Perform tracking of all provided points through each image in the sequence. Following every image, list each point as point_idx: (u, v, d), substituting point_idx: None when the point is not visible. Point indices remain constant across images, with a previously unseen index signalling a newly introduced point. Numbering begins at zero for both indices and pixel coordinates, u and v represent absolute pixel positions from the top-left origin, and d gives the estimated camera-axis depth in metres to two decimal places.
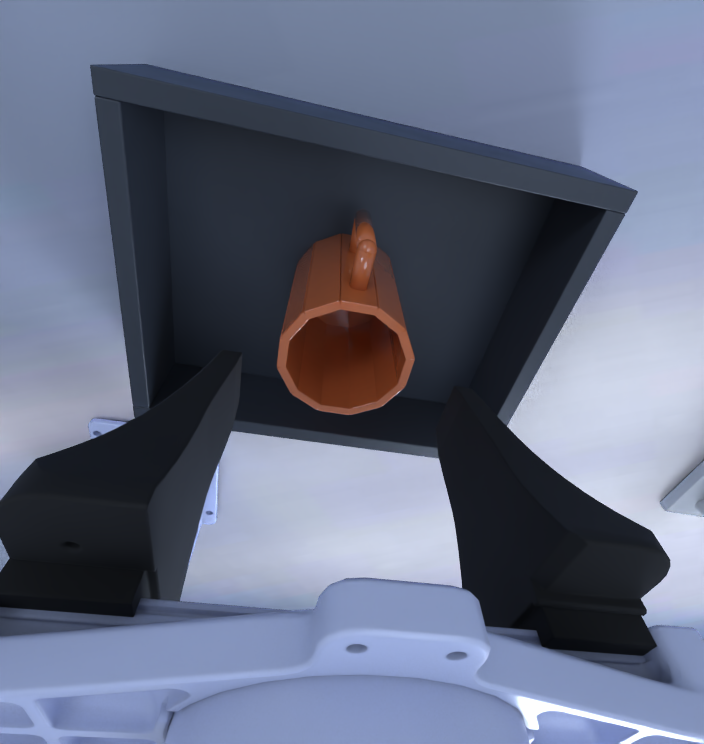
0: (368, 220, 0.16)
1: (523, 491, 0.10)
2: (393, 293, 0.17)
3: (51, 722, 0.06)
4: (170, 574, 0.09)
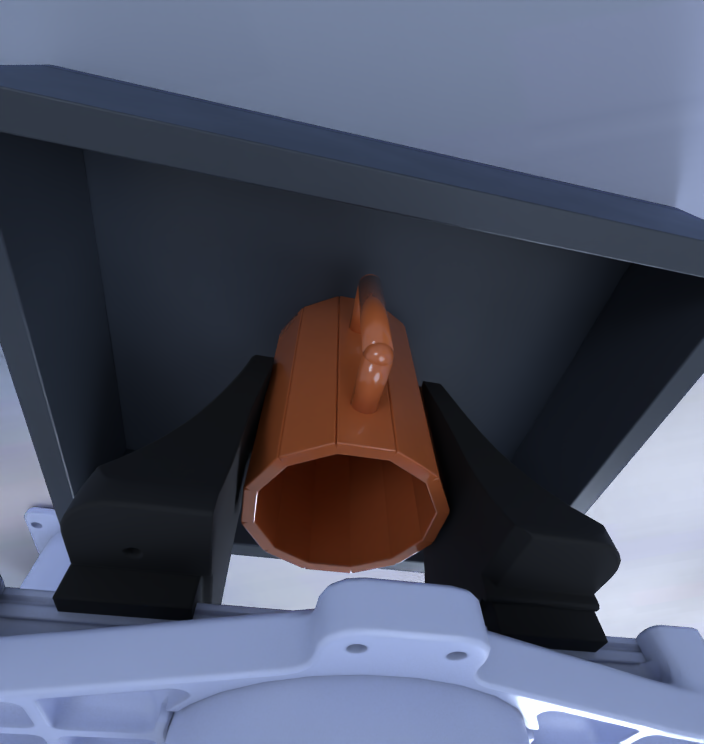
0: (378, 297, 0.11)
1: (478, 485, 0.10)
2: (415, 400, 0.12)
3: (51, 722, 0.06)
4: (218, 578, 0.09)
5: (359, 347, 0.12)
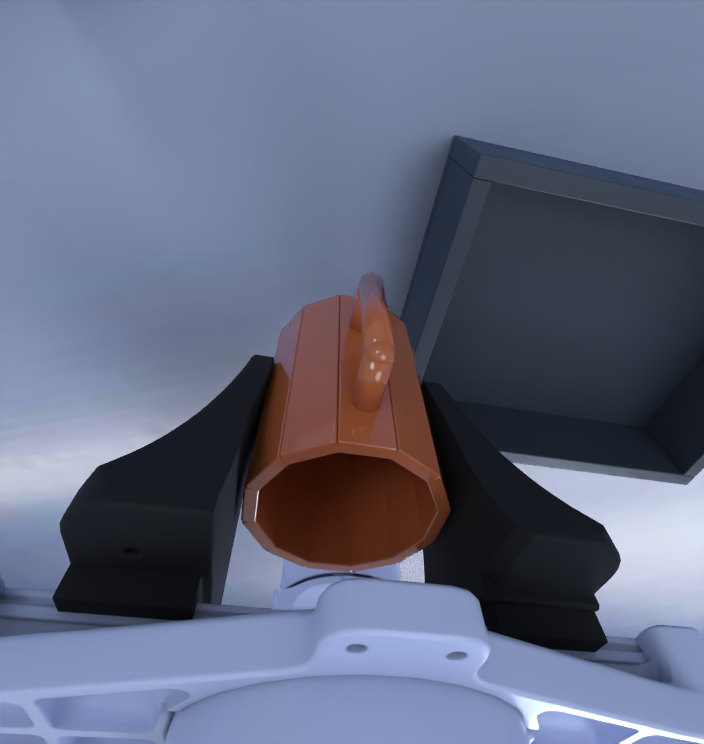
0: (380, 295, 0.11)
1: (478, 485, 0.10)
2: (416, 399, 0.12)
3: (51, 722, 0.06)
4: (218, 578, 0.09)
5: (360, 346, 0.12)
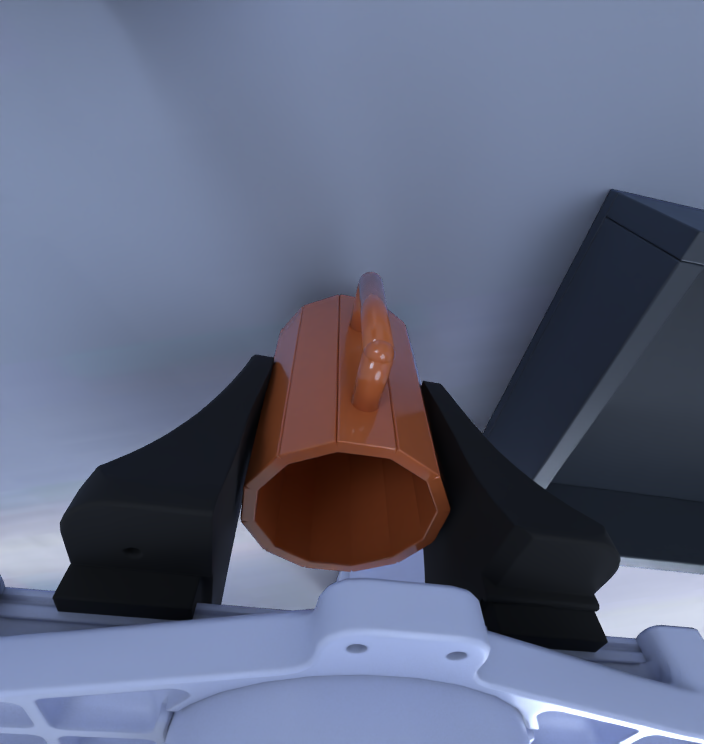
0: (379, 295, 0.11)
1: (478, 485, 0.10)
2: (415, 399, 0.12)
3: (51, 722, 0.06)
4: (218, 578, 0.09)
5: (359, 345, 0.12)
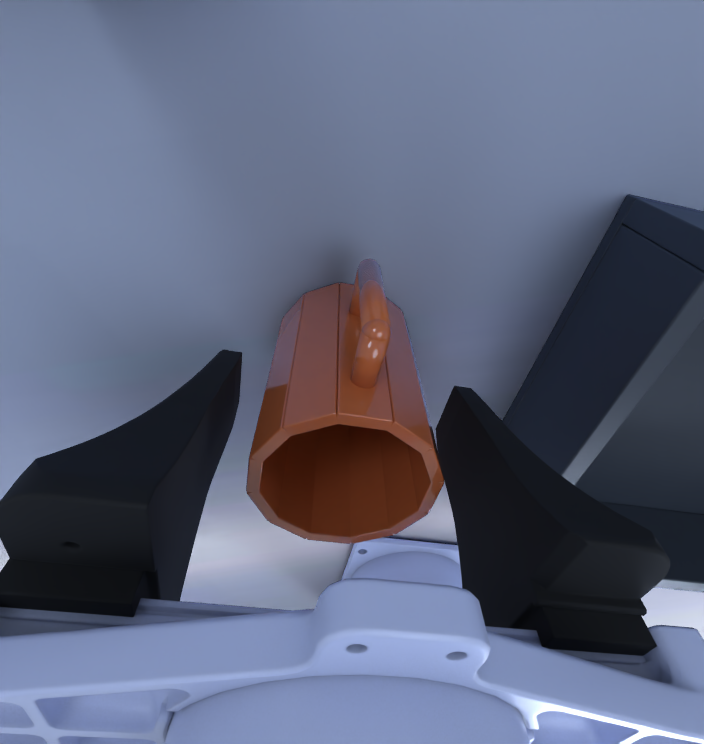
0: (377, 279, 0.12)
1: (523, 491, 0.10)
2: (411, 378, 0.12)
3: (51, 722, 0.06)
4: (170, 574, 0.09)
5: (358, 329, 0.13)
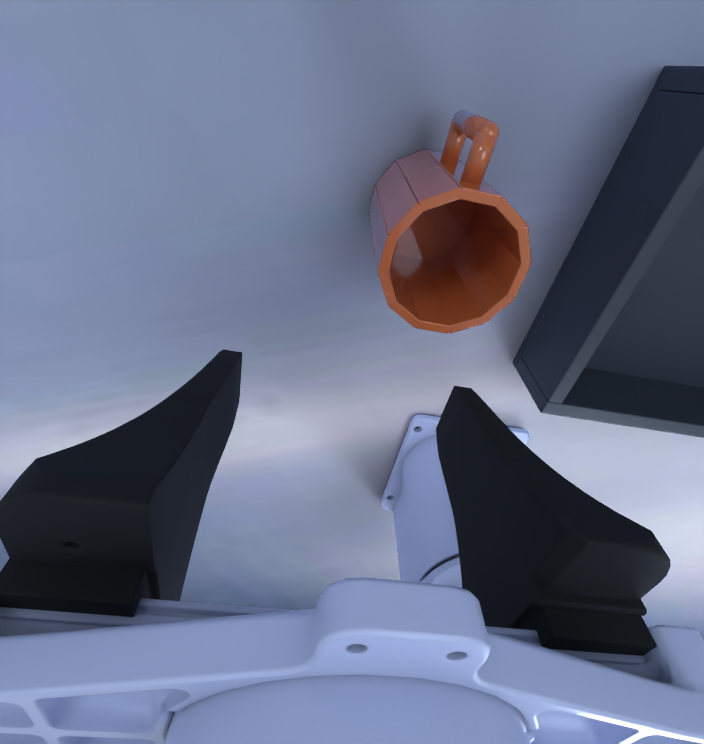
0: None
1: (523, 491, 0.10)
2: None
3: (51, 722, 0.06)
4: (170, 574, 0.09)
5: (454, 165, 0.16)
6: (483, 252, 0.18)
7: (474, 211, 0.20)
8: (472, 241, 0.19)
